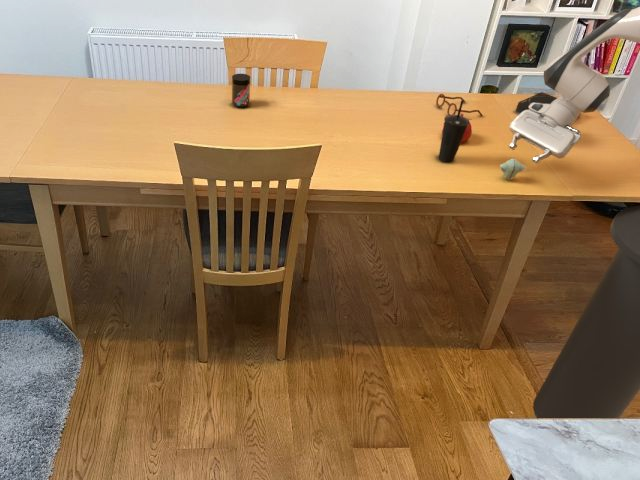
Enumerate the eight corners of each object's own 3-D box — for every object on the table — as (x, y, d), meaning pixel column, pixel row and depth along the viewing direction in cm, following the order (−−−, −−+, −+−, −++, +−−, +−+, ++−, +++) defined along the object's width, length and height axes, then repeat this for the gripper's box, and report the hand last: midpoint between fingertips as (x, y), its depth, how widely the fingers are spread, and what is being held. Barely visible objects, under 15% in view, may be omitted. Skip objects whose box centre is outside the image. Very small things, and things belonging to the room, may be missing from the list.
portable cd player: (556, 128, 212) (560, 118, 209) (515, 112, 222) (518, 102, 219) (579, 117, 220) (583, 107, 217) (538, 102, 230) (541, 92, 227)
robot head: (496, 181, 181) (503, 162, 177) (492, 175, 185) (499, 155, 180) (522, 183, 181) (529, 163, 177) (518, 176, 185) (525, 157, 180)
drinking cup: (460, 165, 188) (478, 106, 175) (437, 164, 188) (453, 105, 175) (454, 154, 194) (471, 95, 181) (431, 153, 194) (446, 94, 181)
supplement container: (230, 107, 215) (230, 79, 208) (233, 100, 220) (233, 72, 213) (248, 109, 215) (249, 81, 208) (250, 102, 220) (251, 74, 213)
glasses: (434, 104, 224) (437, 92, 221) (464, 102, 227) (468, 89, 224) (451, 119, 215) (455, 106, 211) (482, 116, 217) (486, 103, 214)
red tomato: (457, 130, 208) (465, 105, 202) (474, 143, 201) (482, 117, 195) (434, 134, 205) (440, 108, 199) (450, 147, 198) (457, 121, 192)
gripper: (586, 139, 172) (551, 175, 175) (532, 111, 186) (500, 145, 188) (583, 128, 168) (547, 165, 170) (527, 100, 181) (495, 135, 184)
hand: (522, 154), depth 179 cm, fingers open, 8 cm apart
